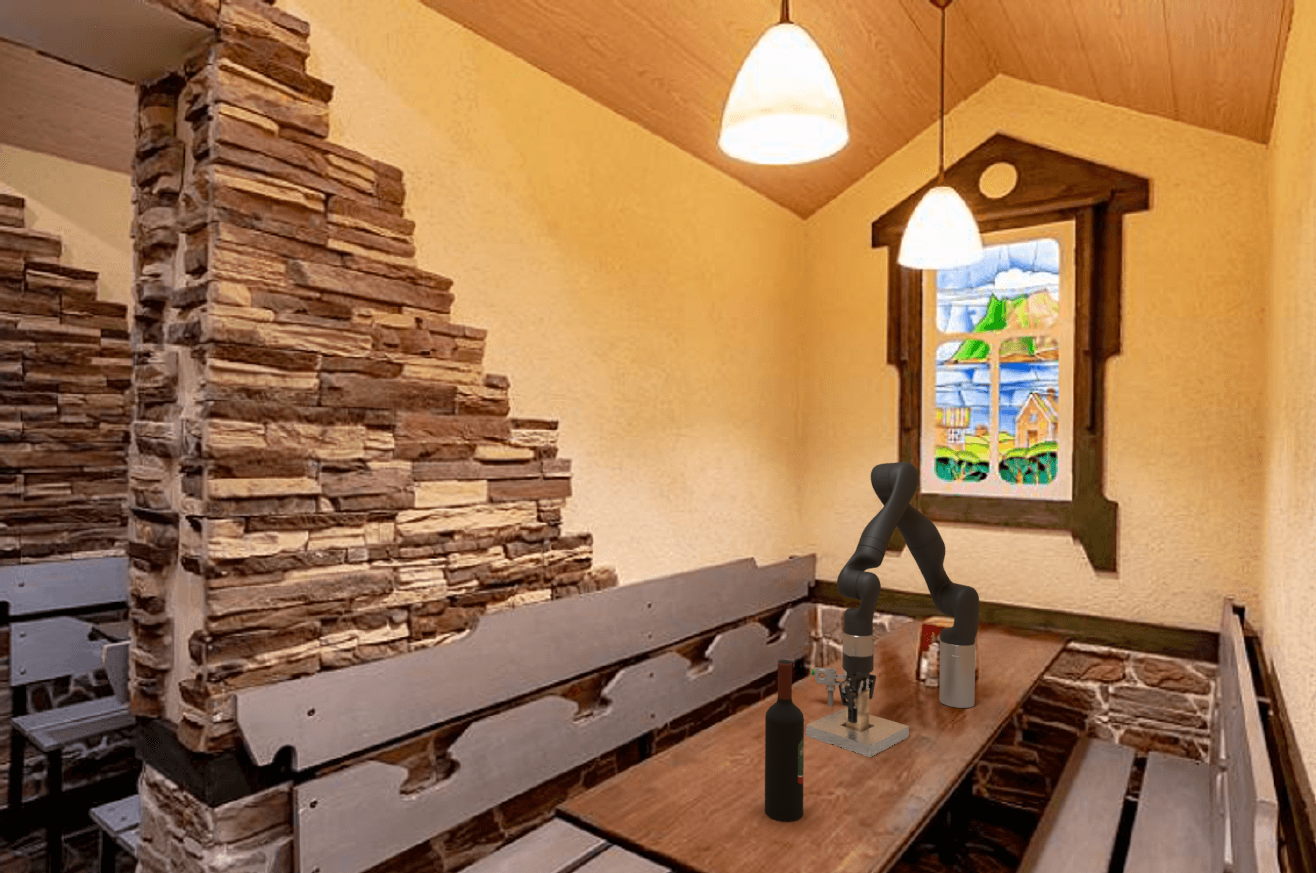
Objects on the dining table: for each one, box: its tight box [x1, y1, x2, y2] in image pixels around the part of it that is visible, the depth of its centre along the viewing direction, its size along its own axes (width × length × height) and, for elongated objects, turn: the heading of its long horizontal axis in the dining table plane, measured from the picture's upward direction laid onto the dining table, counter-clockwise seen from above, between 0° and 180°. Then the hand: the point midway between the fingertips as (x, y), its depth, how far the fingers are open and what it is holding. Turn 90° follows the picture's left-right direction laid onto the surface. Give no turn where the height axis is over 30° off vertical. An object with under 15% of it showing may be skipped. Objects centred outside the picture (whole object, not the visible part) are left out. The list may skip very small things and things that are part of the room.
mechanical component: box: [811, 666, 847, 708], centre depth 218 cm, size 3×10×10 cm, turn 78°
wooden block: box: [845, 690, 870, 732], centre depth 196 cm, size 4×4×10 cm
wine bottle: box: [764, 659, 805, 823], centre depth 157 cm, size 8×8×30 cm
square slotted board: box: [805, 707, 910, 759], centre depth 196 cm, size 18×18×3 cm
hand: (857, 719), depth 196 cm, fingers closed on wooden block, 3 cm apart
